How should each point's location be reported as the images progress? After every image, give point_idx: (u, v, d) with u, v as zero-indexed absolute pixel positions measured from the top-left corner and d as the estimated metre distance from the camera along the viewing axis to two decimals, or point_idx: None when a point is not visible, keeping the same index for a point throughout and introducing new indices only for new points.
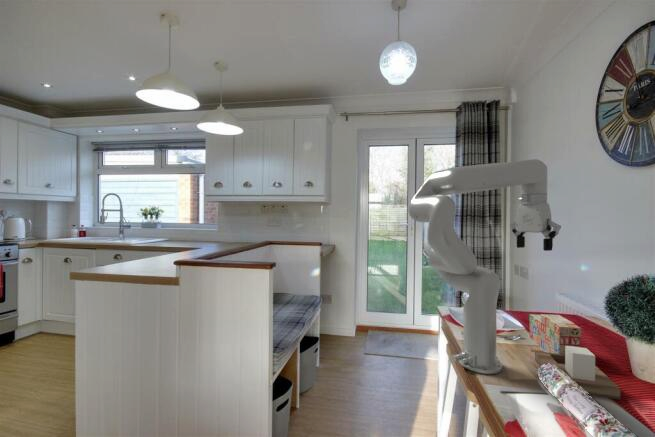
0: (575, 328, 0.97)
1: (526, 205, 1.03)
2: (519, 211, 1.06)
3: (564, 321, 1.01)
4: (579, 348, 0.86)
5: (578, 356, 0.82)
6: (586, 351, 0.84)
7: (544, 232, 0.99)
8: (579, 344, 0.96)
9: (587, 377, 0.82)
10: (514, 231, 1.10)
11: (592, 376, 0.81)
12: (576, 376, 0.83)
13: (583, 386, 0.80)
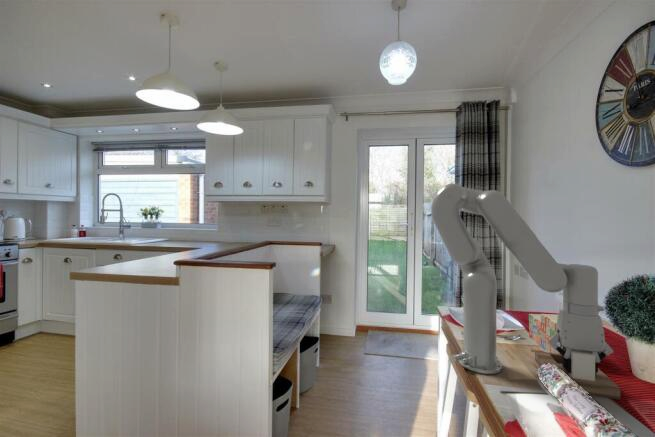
0: None
1: None
2: None
3: None
4: None
5: (578, 356, 0.82)
6: (586, 351, 0.84)
7: None
8: None
9: (587, 377, 0.82)
10: None
11: (592, 376, 0.81)
12: (576, 376, 0.83)
13: (583, 386, 0.80)
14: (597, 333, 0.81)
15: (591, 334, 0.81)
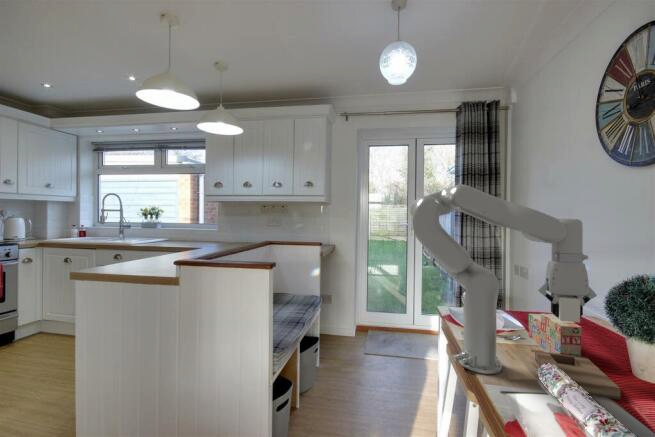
0: (576, 327, 0.97)
1: None
2: None
3: None
4: (566, 295, 0.94)
5: (565, 301, 0.91)
6: (572, 296, 0.92)
7: None
8: (580, 343, 0.97)
9: (573, 319, 0.90)
10: None
11: (577, 318, 0.90)
12: (563, 319, 0.91)
13: (583, 386, 0.80)
14: (582, 279, 0.89)
15: (576, 280, 0.90)
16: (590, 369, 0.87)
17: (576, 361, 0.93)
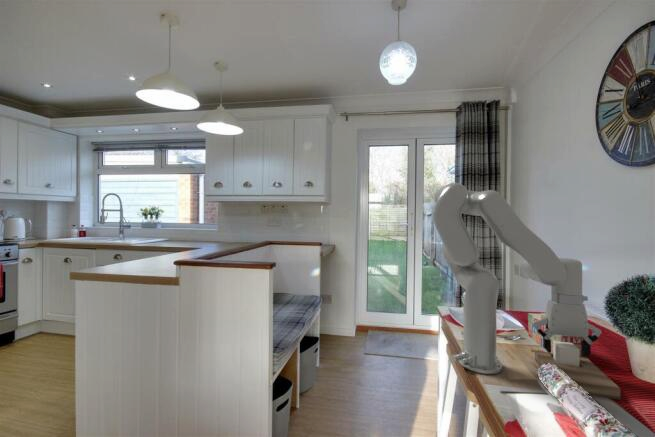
0: None
1: None
2: None
3: None
4: (566, 343, 0.94)
5: (564, 350, 0.91)
6: (571, 345, 0.92)
7: None
8: (580, 342, 0.98)
9: None
10: None
11: None
12: None
13: (583, 386, 0.80)
14: (581, 320, 0.90)
15: (576, 321, 0.90)
16: (590, 369, 0.87)
17: None
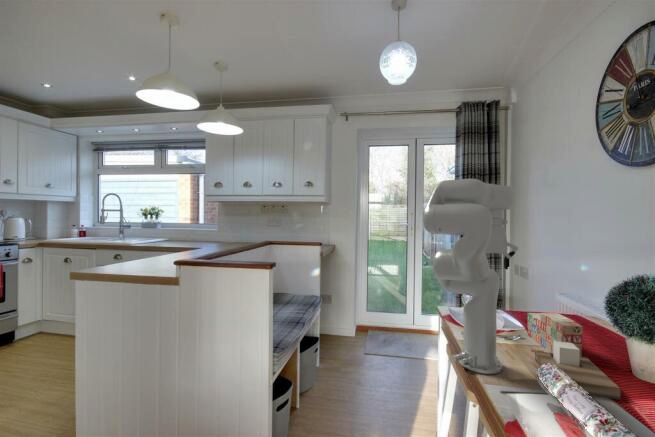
0: (577, 326, 0.98)
1: None
2: None
3: (565, 319, 1.03)
4: (566, 343, 0.94)
5: (564, 350, 0.91)
6: (571, 345, 0.92)
7: None
8: (581, 342, 0.98)
9: None
10: None
11: None
12: None
13: (583, 386, 0.80)
14: (501, 239, 1.10)
15: (497, 240, 1.10)
16: (590, 369, 0.87)
17: None
